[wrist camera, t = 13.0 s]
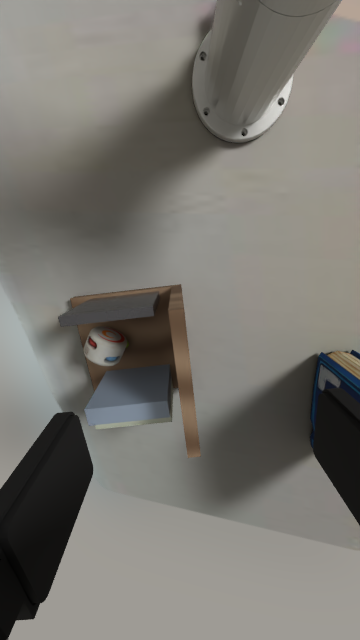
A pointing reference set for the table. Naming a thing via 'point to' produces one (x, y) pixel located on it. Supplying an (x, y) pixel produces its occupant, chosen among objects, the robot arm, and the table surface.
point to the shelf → (153, 349)
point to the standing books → (132, 398)
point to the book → (336, 377)
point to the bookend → (112, 309)
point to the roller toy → (105, 346)
